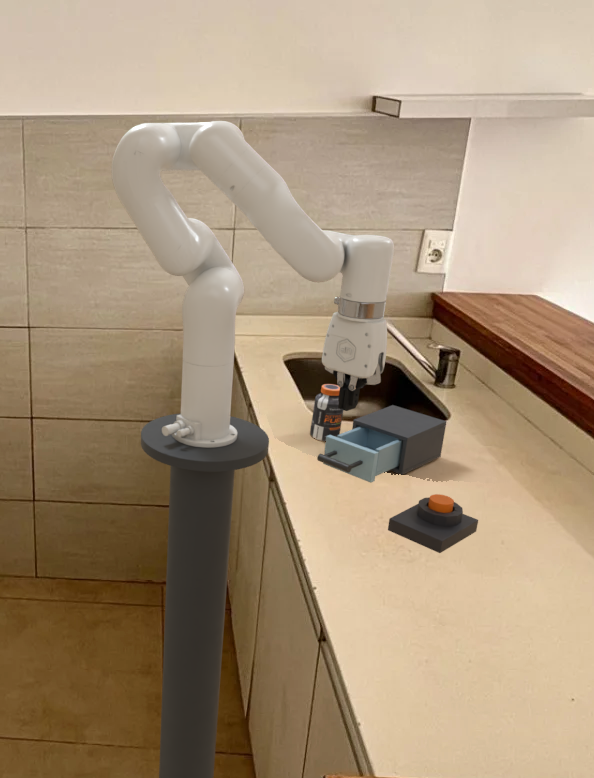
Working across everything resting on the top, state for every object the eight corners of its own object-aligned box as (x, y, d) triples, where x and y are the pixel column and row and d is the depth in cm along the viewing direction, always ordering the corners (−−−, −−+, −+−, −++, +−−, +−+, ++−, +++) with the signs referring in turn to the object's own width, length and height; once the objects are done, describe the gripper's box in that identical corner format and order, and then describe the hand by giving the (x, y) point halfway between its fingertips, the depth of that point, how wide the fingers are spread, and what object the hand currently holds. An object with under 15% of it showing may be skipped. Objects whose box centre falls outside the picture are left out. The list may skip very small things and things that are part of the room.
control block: (439, 553, 118) (444, 530, 117) (387, 530, 125) (390, 508, 124) (476, 531, 124) (480, 509, 123) (424, 510, 131) (427, 489, 130)
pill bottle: (322, 444, 158) (329, 393, 154) (303, 433, 163) (310, 383, 159) (345, 440, 160) (353, 389, 156) (326, 429, 165) (333, 380, 161)
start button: (444, 516, 122) (446, 506, 121) (423, 507, 125) (425, 498, 124) (456, 509, 124) (458, 500, 123) (435, 501, 127) (437, 492, 126)
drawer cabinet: (402, 475, 144) (407, 437, 142) (348, 455, 153) (353, 419, 150) (440, 456, 152) (446, 421, 149) (388, 438, 161) (392, 404, 158)
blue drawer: (354, 490, 136) (358, 460, 134) (306, 470, 144) (309, 442, 142) (409, 465, 146) (413, 437, 144) (361, 447, 154) (365, 421, 152)
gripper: (311, 303, 135) (299, 400, 141) (387, 321, 124) (371, 425, 130) (337, 297, 139) (325, 392, 146) (413, 314, 128) (396, 416, 134)
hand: (347, 408), depth 138 cm, fingers closed
